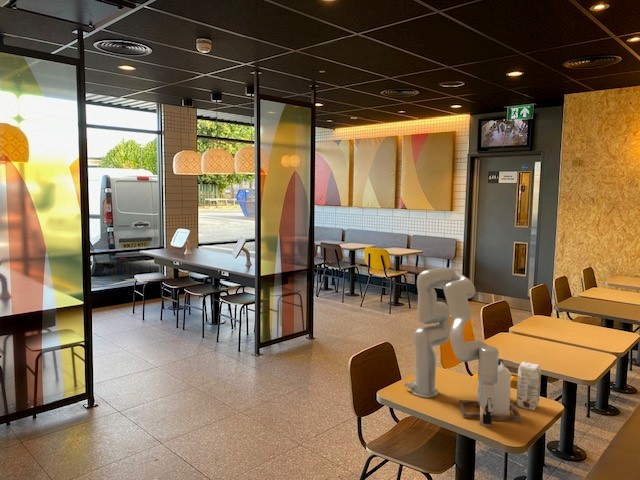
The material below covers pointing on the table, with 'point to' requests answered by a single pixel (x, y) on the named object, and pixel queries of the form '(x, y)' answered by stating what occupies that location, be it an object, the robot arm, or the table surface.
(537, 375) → the juice carton
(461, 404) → the organizer
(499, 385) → the milk
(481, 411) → the shaker
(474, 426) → the table surface
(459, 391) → the table surface
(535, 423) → the table surface
